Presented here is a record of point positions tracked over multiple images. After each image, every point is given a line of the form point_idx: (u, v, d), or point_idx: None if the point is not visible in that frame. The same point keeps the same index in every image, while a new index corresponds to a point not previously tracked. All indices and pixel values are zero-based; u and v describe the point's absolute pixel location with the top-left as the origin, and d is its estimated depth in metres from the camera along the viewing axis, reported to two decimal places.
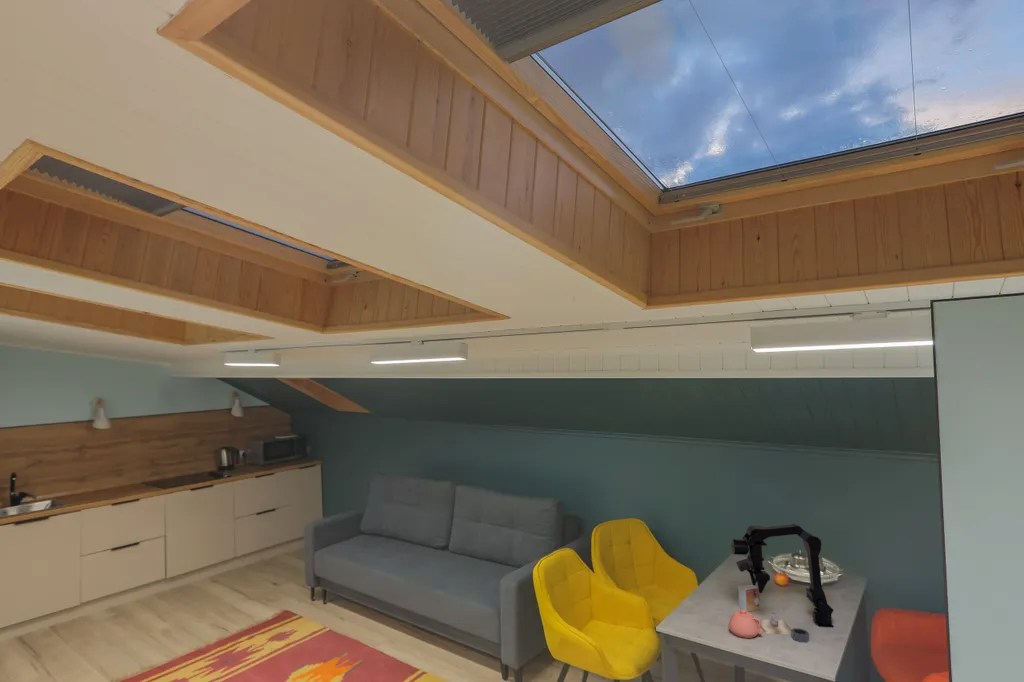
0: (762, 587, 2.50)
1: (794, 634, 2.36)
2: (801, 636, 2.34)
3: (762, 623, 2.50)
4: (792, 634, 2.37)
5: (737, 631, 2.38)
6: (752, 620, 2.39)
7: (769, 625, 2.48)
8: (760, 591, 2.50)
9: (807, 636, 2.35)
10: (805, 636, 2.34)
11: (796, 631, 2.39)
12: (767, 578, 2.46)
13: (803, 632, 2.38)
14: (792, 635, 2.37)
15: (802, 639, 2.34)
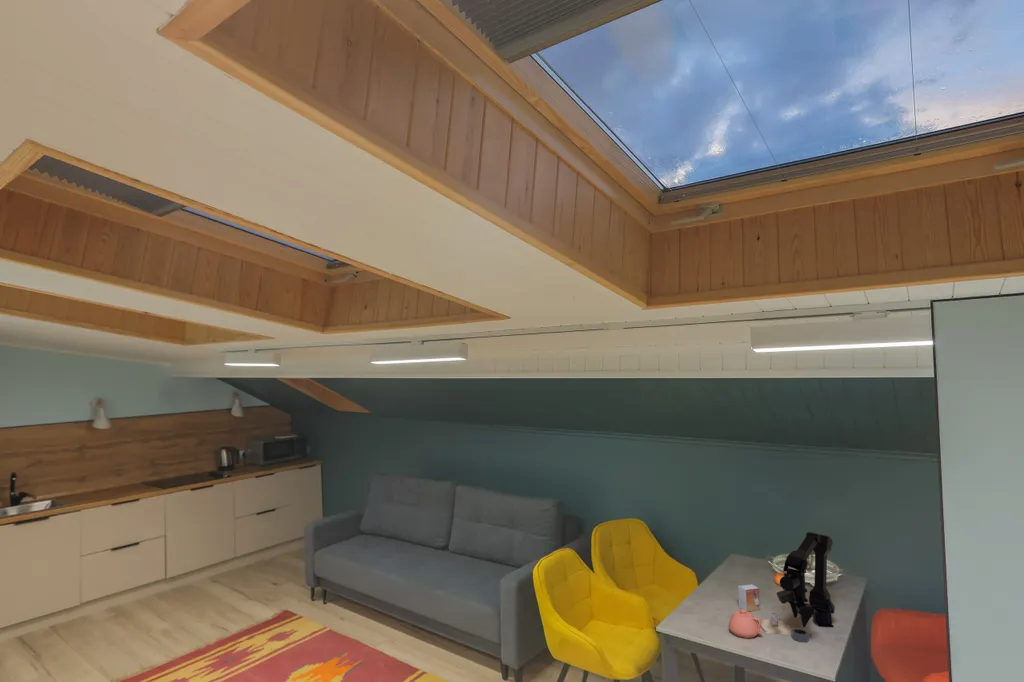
0: (806, 621, 2.32)
1: (794, 634, 2.36)
2: (801, 636, 2.34)
3: (762, 623, 2.50)
4: (792, 634, 2.37)
5: (737, 631, 2.38)
6: (752, 620, 2.39)
7: (769, 625, 2.48)
8: (804, 625, 2.33)
9: (807, 636, 2.35)
10: (805, 636, 2.34)
11: (796, 631, 2.39)
12: (812, 612, 2.29)
13: (803, 632, 2.38)
14: (792, 635, 2.37)
15: (802, 639, 2.34)
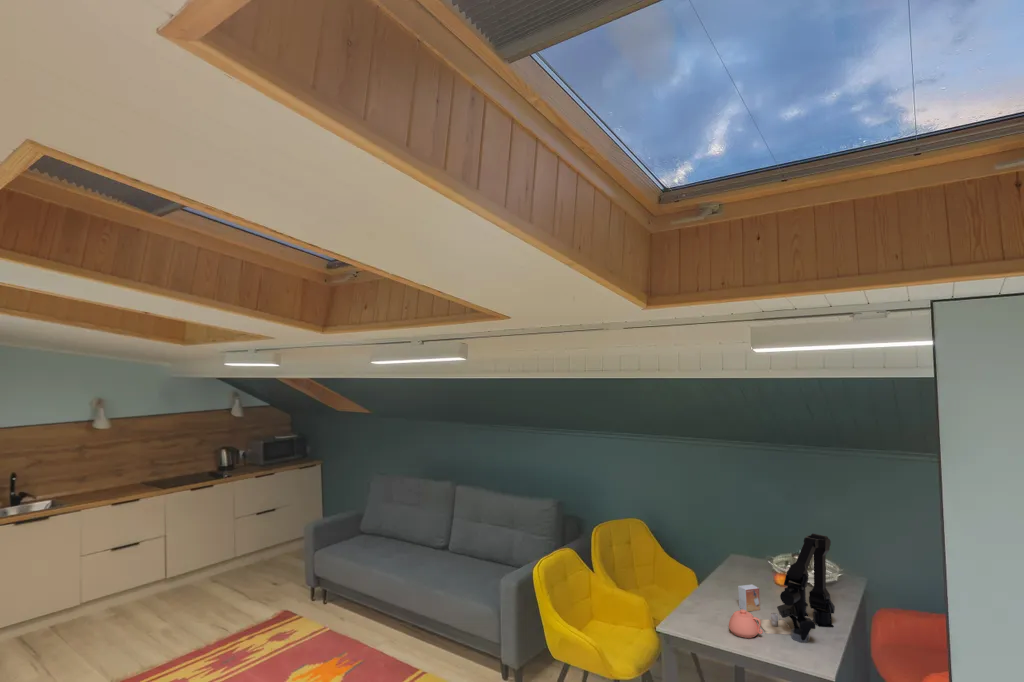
0: (805, 634, 2.33)
1: (794, 634, 2.36)
2: None
3: (762, 623, 2.50)
4: (792, 634, 2.37)
5: (737, 631, 2.38)
6: (752, 620, 2.39)
7: (769, 625, 2.48)
8: (803, 638, 2.33)
9: (807, 636, 2.35)
10: None
11: (796, 631, 2.39)
12: (812, 626, 2.28)
13: None
14: (792, 635, 2.37)
15: None
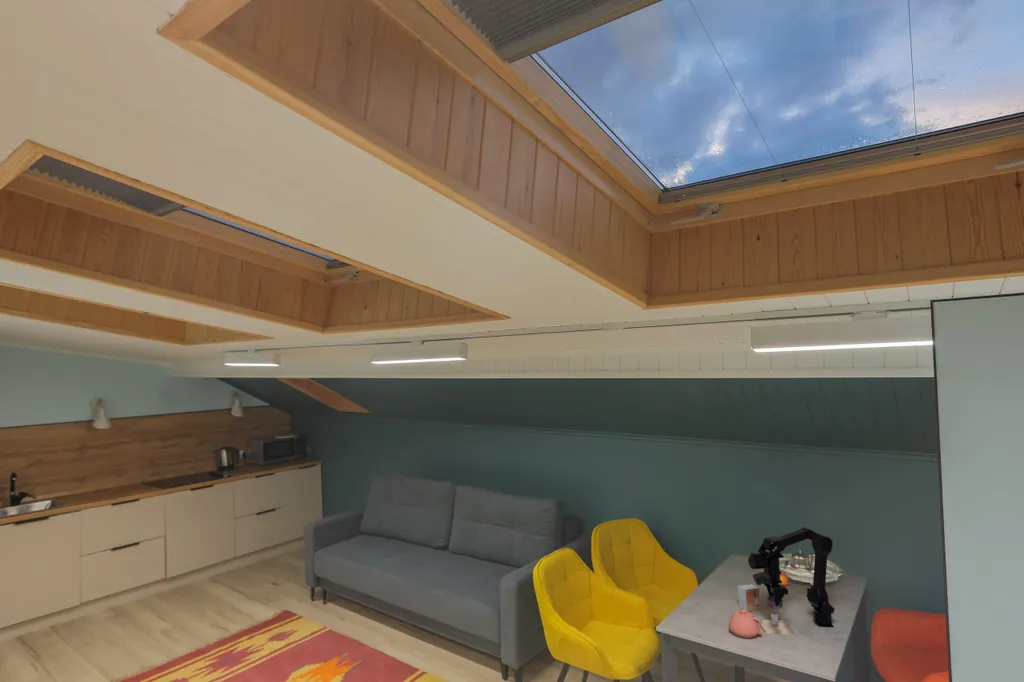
0: (779, 600, 2.44)
1: (768, 600, 2.47)
2: None
3: (762, 623, 2.50)
4: (766, 601, 2.49)
5: (737, 631, 2.38)
6: (752, 620, 2.39)
7: (769, 625, 2.48)
8: (777, 604, 2.45)
9: (780, 602, 2.46)
10: None
11: (770, 598, 2.51)
12: (785, 592, 2.39)
13: None
14: (766, 602, 2.49)
15: None
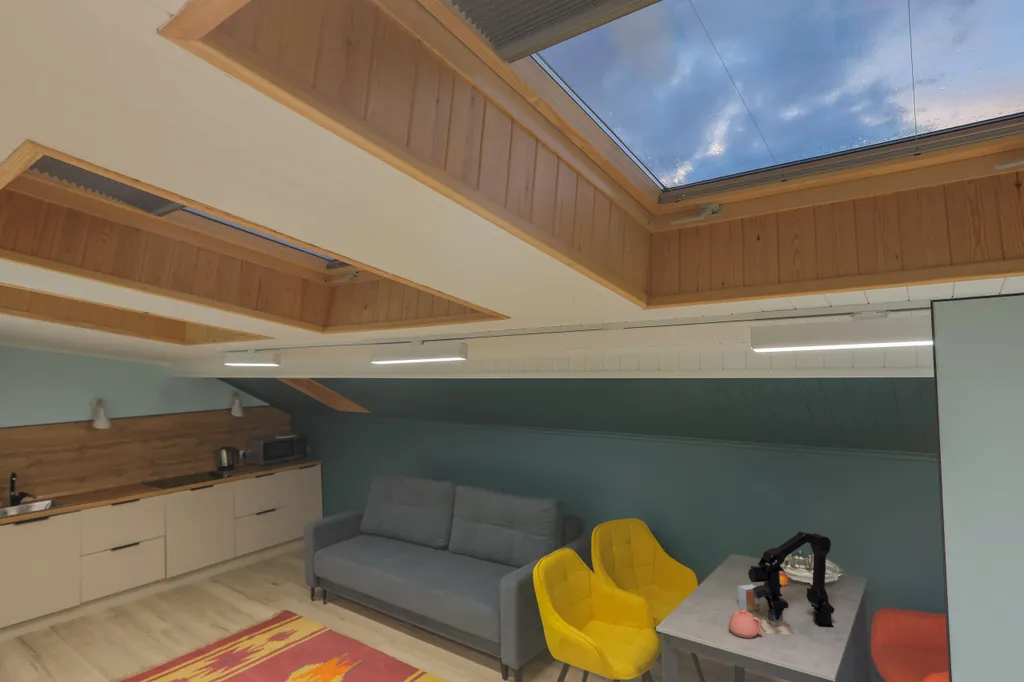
0: (779, 614, 2.44)
1: (768, 614, 2.47)
2: None
3: (762, 623, 2.50)
4: (767, 614, 2.48)
5: (737, 631, 2.38)
6: (752, 620, 2.39)
7: (769, 625, 2.48)
8: (777, 618, 2.44)
9: (781, 616, 2.46)
10: None
11: (771, 611, 2.50)
12: (785, 606, 2.39)
13: None
14: (767, 615, 2.48)
15: None
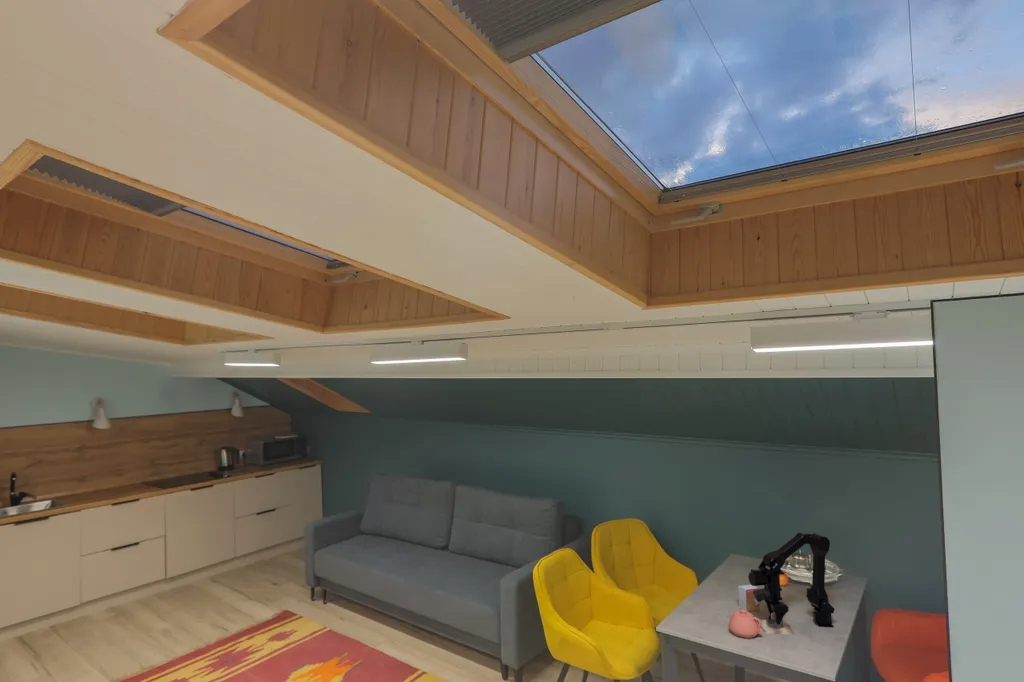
0: (780, 618, 2.43)
1: (769, 621, 2.47)
2: (775, 623, 2.45)
3: (762, 623, 2.50)
4: (767, 621, 2.48)
5: (737, 631, 2.38)
6: (752, 620, 2.39)
7: None
8: (778, 622, 2.43)
9: (781, 623, 2.45)
10: None
11: None
12: (785, 610, 2.39)
13: None
14: (767, 622, 2.48)
15: (776, 625, 2.45)
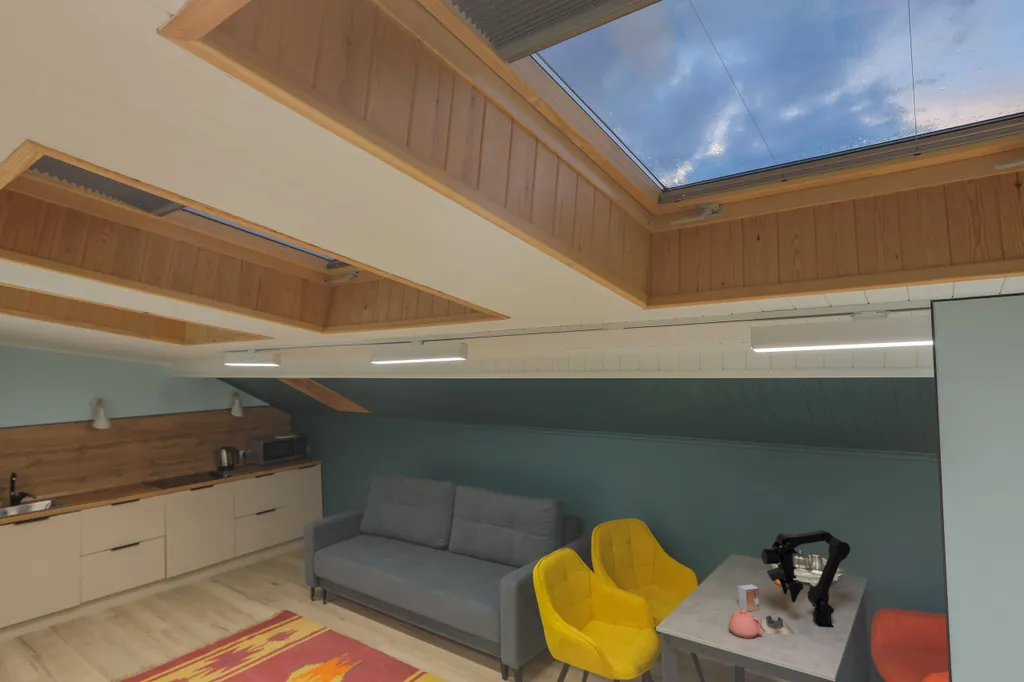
0: (795, 596, 2.46)
1: (769, 621, 2.47)
2: (775, 623, 2.45)
3: (762, 623, 2.50)
4: (767, 621, 2.48)
5: (737, 631, 2.38)
6: (752, 620, 2.39)
7: None
8: (793, 600, 2.47)
9: (781, 623, 2.45)
10: (779, 622, 2.45)
11: None
12: (800, 587, 2.43)
13: None
14: (767, 622, 2.48)
15: (776, 625, 2.45)
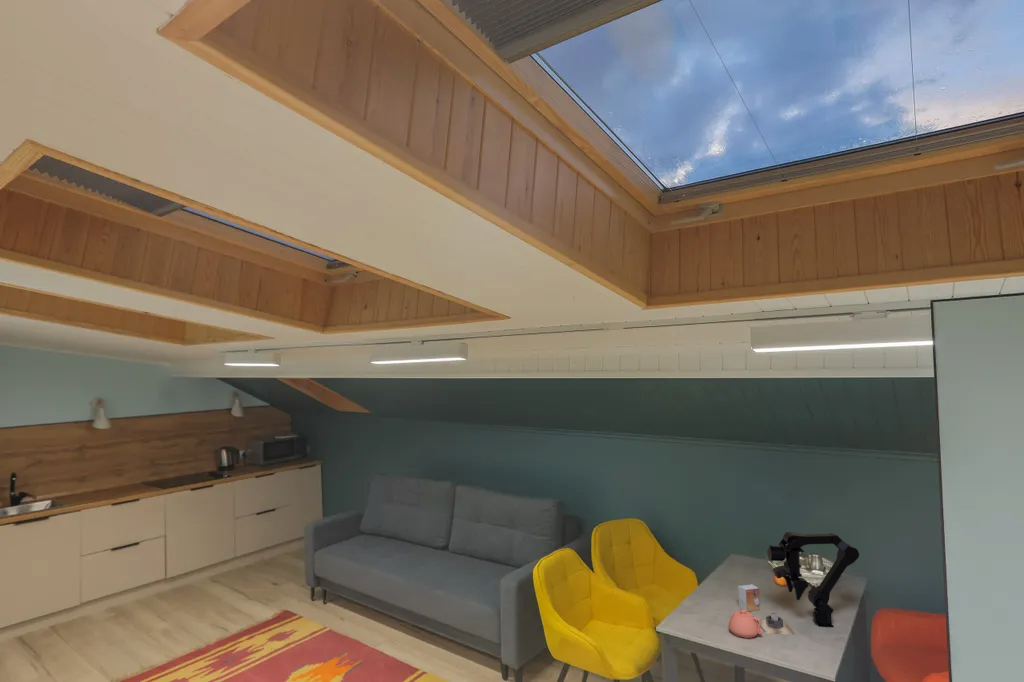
0: (800, 594, 2.48)
1: (769, 621, 2.47)
2: (775, 623, 2.45)
3: (762, 623, 2.50)
4: (767, 621, 2.48)
5: (737, 631, 2.38)
6: (752, 620, 2.39)
7: None
8: (798, 598, 2.48)
9: (781, 623, 2.45)
10: (779, 622, 2.45)
11: None
12: (805, 585, 2.44)
13: None
14: (767, 622, 2.48)
15: (776, 625, 2.45)
